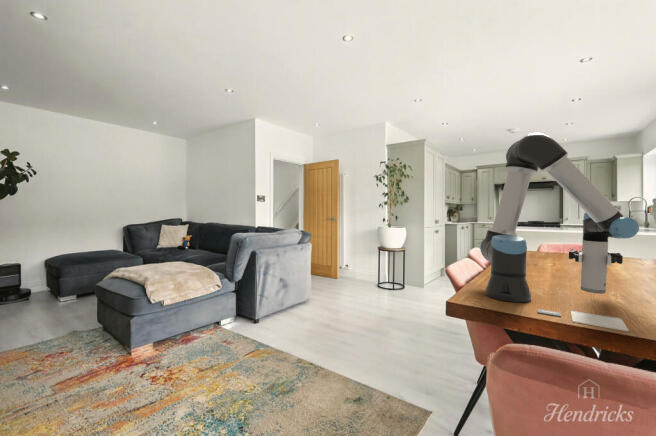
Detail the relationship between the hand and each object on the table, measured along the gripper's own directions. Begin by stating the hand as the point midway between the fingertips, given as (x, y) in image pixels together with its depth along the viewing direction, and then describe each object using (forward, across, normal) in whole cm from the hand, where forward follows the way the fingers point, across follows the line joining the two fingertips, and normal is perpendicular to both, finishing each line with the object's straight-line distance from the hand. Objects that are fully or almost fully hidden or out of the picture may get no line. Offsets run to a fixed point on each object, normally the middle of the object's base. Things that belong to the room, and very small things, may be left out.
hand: (594, 259), depth 96 cm
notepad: (+6, -1, -18) cm, 19 cm away
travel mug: (-5, 0, -11) cm, 12 cm away
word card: (+8, +10, -18) cm, 22 cm away
